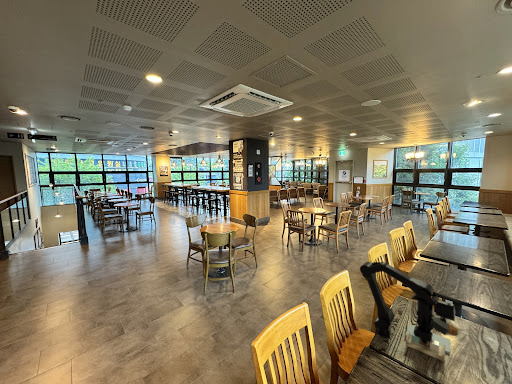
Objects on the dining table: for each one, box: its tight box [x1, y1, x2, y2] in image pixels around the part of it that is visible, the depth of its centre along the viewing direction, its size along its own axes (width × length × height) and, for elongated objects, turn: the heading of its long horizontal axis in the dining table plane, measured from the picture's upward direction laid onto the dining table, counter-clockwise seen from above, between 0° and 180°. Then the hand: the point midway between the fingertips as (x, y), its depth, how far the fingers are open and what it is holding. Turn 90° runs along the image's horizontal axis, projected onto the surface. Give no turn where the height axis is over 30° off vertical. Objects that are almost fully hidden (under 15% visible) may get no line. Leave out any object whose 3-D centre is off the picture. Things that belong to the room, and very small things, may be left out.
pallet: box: [405, 331, 446, 362], centre depth 98 cm, size 14×7×7 cm, turn 45°
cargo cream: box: [430, 339, 439, 352], centre depth 96 cm, size 3×3×3 cm
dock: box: [405, 324, 451, 355], centre depth 107 cm, size 17×10×2 cm, turn 45°
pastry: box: [447, 323, 459, 335], centre depth 114 cm, size 9×7×4 cm
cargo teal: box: [412, 331, 419, 343], centre depth 101 cm, size 3×3×3 cm
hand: (424, 341), depth 99 cm, fingers closed on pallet, 2 cm apart
